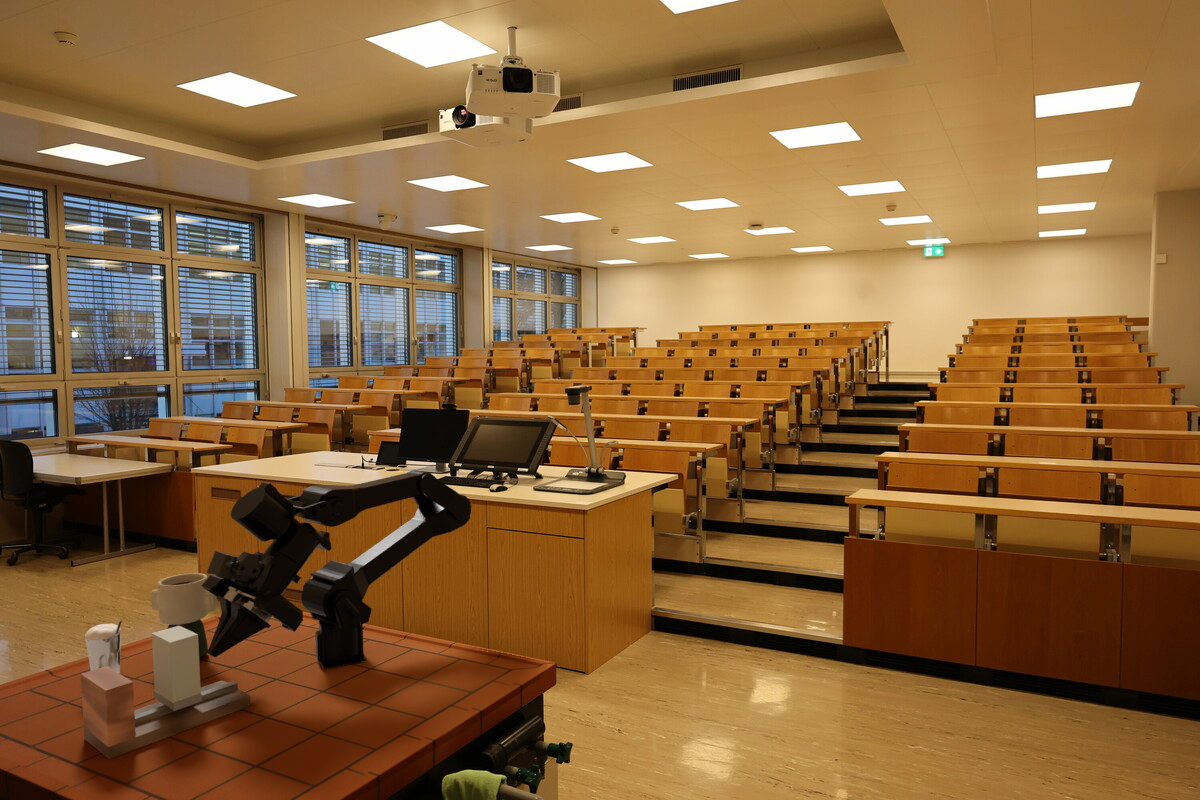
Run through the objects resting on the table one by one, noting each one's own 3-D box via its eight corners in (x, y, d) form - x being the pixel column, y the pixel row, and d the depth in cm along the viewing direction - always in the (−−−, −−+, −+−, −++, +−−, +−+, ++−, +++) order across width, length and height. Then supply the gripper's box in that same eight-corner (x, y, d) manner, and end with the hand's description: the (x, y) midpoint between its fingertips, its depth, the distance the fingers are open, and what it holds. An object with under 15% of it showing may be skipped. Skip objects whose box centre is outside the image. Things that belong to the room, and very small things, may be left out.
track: (222, 690, 112) (219, 632, 111) (250, 705, 107) (248, 645, 106) (84, 739, 98) (80, 673, 97) (109, 759, 93) (105, 690, 92)
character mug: (231, 651, 126) (228, 573, 125) (205, 669, 119) (201, 586, 118) (169, 649, 127) (165, 572, 127) (139, 667, 120) (135, 585, 120)
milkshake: (111, 694, 111) (107, 626, 110) (80, 691, 112) (76, 624, 111) (136, 681, 115) (133, 615, 114) (106, 678, 116) (102, 613, 116)
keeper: (181, 689, 106) (178, 625, 106) (201, 701, 102) (198, 634, 102) (154, 698, 103) (150, 632, 103) (174, 711, 100) (170, 642, 99)
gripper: (213, 519, 115) (135, 612, 107) (279, 537, 104) (198, 642, 96) (265, 560, 122) (196, 650, 114) (333, 581, 110) (261, 682, 102)
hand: (211, 655), depth 106 cm, fingers closed
